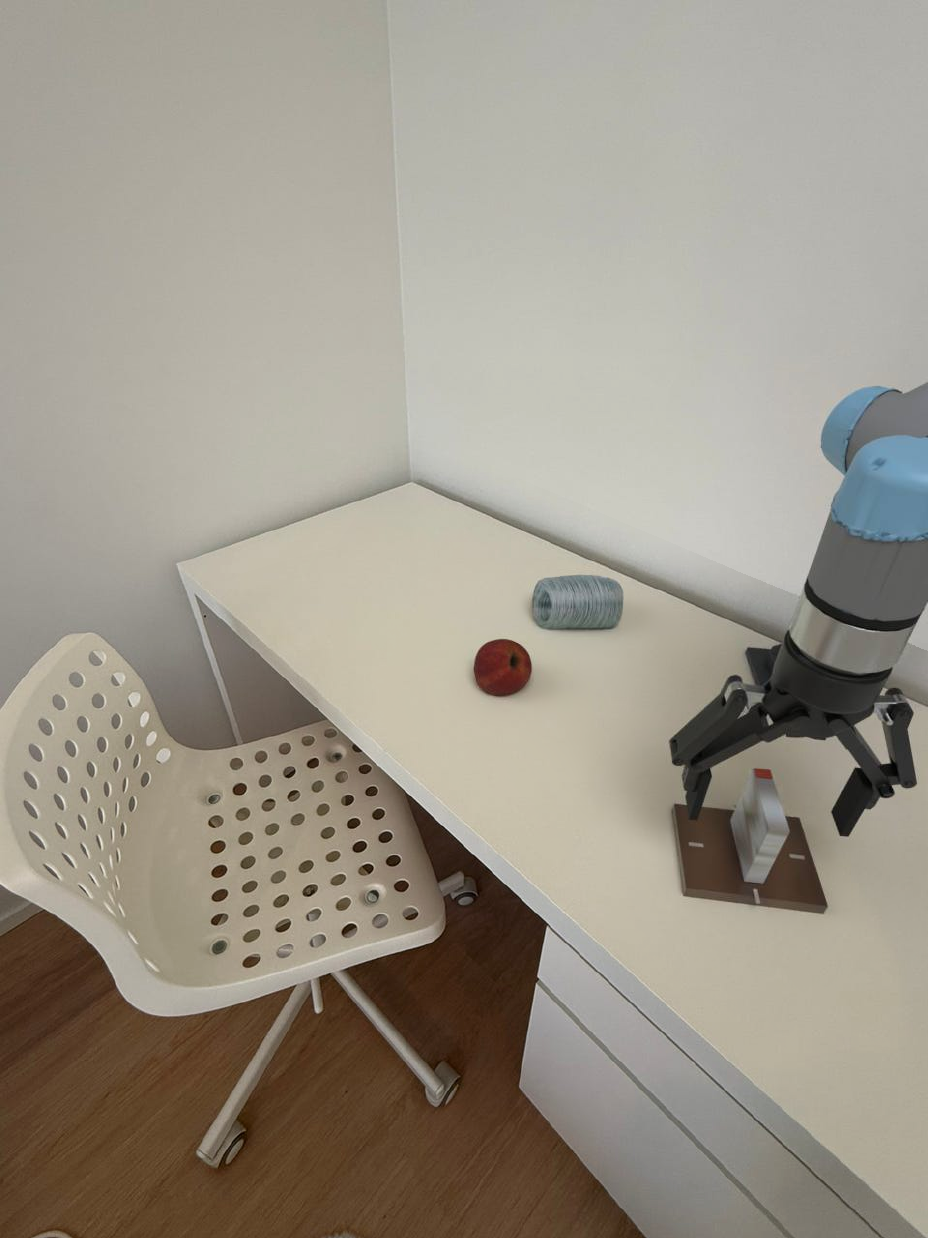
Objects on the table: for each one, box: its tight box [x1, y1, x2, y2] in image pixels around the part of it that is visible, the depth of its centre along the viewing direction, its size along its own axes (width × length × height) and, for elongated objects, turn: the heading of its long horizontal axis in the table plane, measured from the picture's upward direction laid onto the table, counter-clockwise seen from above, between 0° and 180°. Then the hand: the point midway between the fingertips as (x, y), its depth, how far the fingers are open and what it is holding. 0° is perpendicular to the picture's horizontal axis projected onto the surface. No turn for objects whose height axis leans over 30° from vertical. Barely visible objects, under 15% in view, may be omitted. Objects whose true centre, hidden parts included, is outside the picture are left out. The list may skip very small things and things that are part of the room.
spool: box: [531, 574, 624, 630], centre depth 97 cm, size 14×10×10 cm
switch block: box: [745, 643, 782, 686], centre depth 88 cm, size 10×8×4 cm
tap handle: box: [730, 767, 790, 884], centre depth 63 cm, size 7×2×9 cm, turn 173°
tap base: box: [671, 803, 829, 915], centre depth 66 cm, size 13×11×3 cm
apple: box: [473, 638, 533, 697], centre depth 86 cm, size 7×8×8 cm
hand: (764, 816), depth 62 cm, fingers open, 13 cm apart
